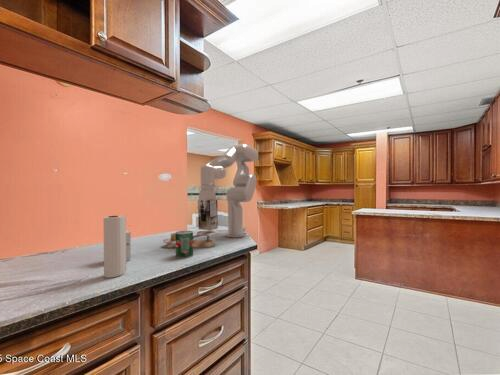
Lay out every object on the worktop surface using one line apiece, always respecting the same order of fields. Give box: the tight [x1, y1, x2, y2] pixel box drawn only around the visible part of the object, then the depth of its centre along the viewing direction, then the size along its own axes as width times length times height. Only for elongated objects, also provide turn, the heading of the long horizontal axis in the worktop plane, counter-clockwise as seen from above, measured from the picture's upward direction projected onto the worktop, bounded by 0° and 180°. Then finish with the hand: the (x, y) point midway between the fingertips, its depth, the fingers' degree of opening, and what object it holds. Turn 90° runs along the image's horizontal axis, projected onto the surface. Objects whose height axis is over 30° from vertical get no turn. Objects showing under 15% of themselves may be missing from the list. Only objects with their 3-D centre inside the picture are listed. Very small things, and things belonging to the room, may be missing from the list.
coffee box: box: [197, 199, 219, 231], centre depth 135 cm, size 9×6×16 cm
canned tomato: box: [175, 230, 194, 259], centre depth 113 cm, size 8×8×11 cm
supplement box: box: [126, 230, 132, 262], centre depth 106 cm, size 7×7×13 cm
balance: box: [162, 229, 220, 249], centre depth 134 cm, size 30×12×7 cm, turn 94°
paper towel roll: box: [103, 215, 127, 279], centre depth 89 cm, size 7×6×21 cm
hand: (208, 220), depth 135 cm, fingers closed on coffee box, 6 cm apart
